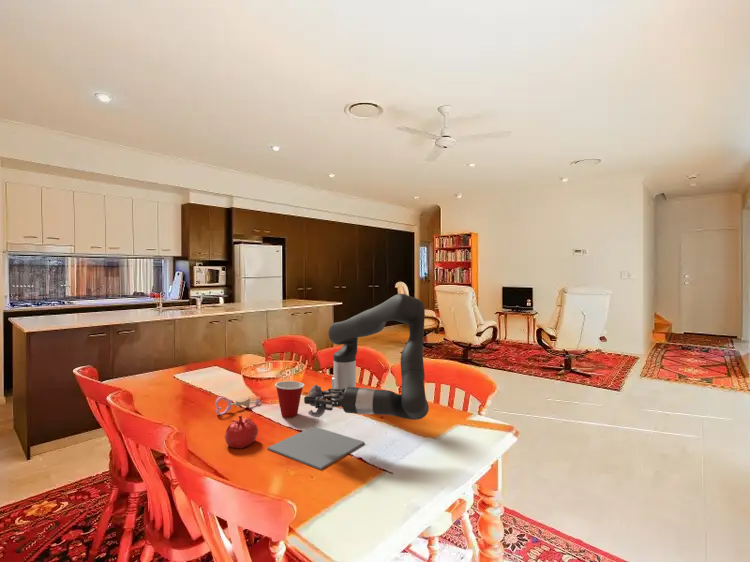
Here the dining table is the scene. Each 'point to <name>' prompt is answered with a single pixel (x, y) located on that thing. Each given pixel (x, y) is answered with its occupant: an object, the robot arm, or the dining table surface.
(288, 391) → the plastic cup
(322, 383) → the dining table surface
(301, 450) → the mat
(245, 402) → the decorative key
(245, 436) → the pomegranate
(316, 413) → the grey tall lumpy piece
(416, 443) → the dining table surface
